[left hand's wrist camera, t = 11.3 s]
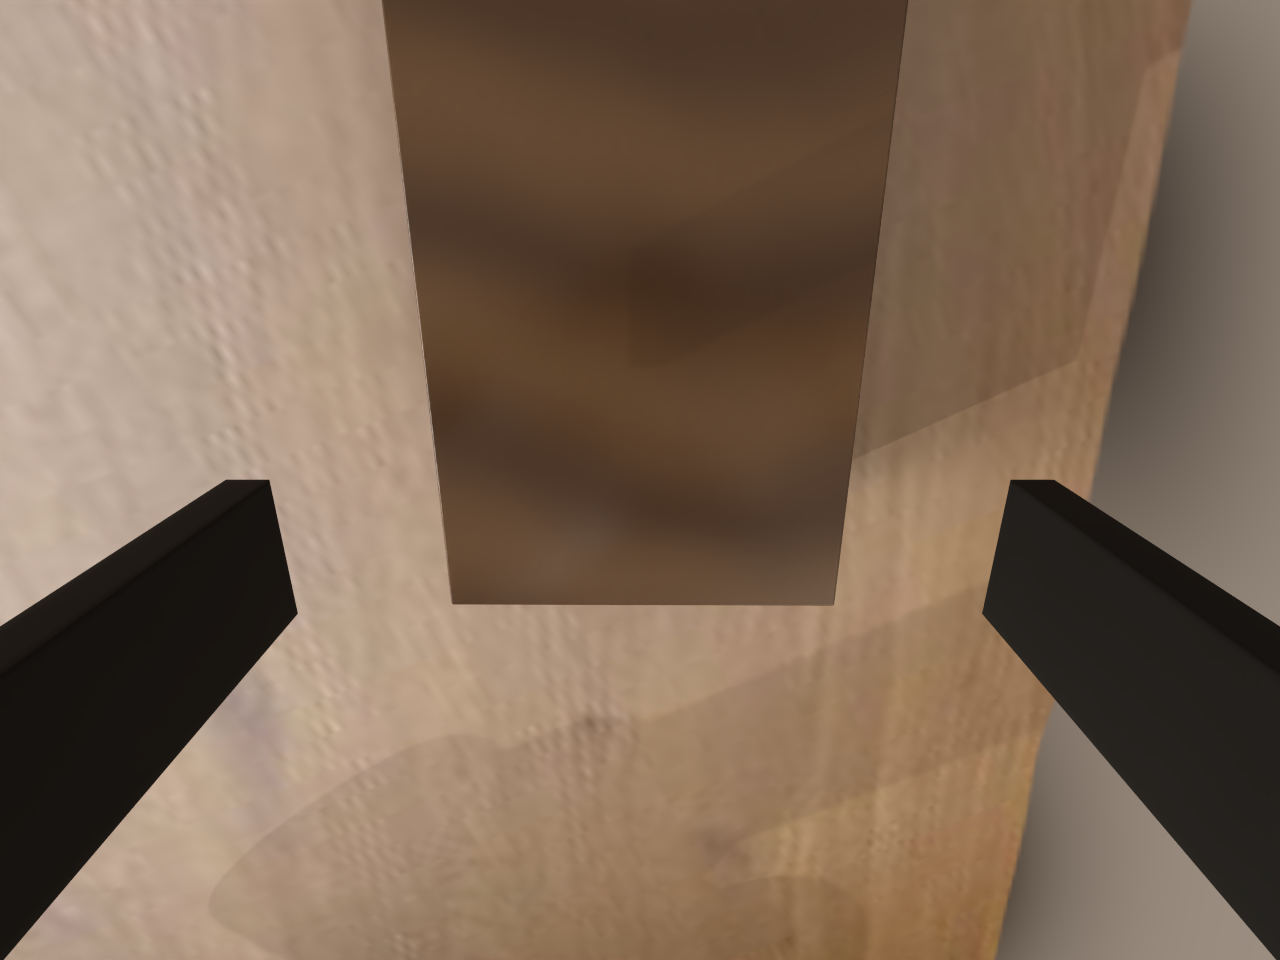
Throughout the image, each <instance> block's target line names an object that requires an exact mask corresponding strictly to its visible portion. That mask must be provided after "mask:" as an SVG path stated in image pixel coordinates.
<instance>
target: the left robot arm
mask: <svg viewBox="0 0 1280 960" xmlns="http://www.w3.org/2000/svg"><path fill="white" fill-rule="evenodd" d="M297 614H298V612H297V608H296V603H295V598H294V594H293V589H292V584H291V580H290V575H289V570H288V565H287V561H286V556H285V551H284V547H283V542H282V537H281V533H280V528H279V523H278V519H277V514H276V509H275V504H274V500H273V495H272V490H271V486H270V481H269V480H225V481H223V482H222V483H220V484H219V485H217V486H216V487H214V488H213V489H211V490H210V491H208V492H206V493H205V494H203V495H202V496H200V497H199V498H197V499H196V500H194V501H193V502H191V503H190V504H188V505H186V506H185V507H183V508H182V509H180V510H179V511H177V512H176V513H174V514H173V515H171V516H170V517H168V518H166V519H165V520H163V521H162V522H160V523H159V524H157V525H156V526H154V527H153V528H151V529H150V530H148V531H146V532H145V533H143V534H142V535H140V536H139V537H137V538H136V539H134V540H133V541H131V542H130V543H128V544H126V545H125V546H123V547H122V548H120V549H119V550H117V551H116V552H114V553H113V554H111V555H109V556H108V557H106V558H105V559H103V560H102V561H100V562H99V563H97V564H96V565H94V566H93V567H91V568H89V569H88V570H86V571H85V572H83V573H82V574H80V575H79V576H77V577H76V578H74V579H73V580H71V581H69V582H68V583H66V584H65V585H63V586H62V587H60V588H59V589H57V590H56V591H54V592H53V593H51V594H49V595H48V596H46V597H45V598H43V599H42V600H40V601H39V602H37V603H36V604H34V605H33V606H31V607H29V608H28V609H26V610H25V611H23V612H22V613H20V614H19V615H17V616H16V617H14V618H13V619H11V620H9V621H8V622H6V623H5V624H3V625H2V626H0V960H4V959H5V958H6V956H7V955H8V954H9V953H10V952H11V951H12V949H13V948H14V947H15V946H16V945H17V943H18V942H19V941H20V940H21V939H22V938H23V936H24V935H25V934H26V933H27V932H28V931H29V929H30V928H31V927H32V926H33V925H34V923H35V922H36V921H37V920H38V919H39V918H40V916H41V915H42V914H43V913H44V912H45V911H46V909H47V908H48V907H49V906H50V905H51V903H52V902H53V901H54V900H55V899H56V898H57V896H58V895H59V894H60V893H61V892H62V891H63V889H64V888H65V887H66V886H67V885H68V883H69V882H70V881H71V880H72V879H73V878H74V876H75V875H76V874H77V873H78V872H79V871H80V869H81V868H82V867H83V866H84V865H85V863H86V862H87V861H88V860H89V859H90V858H91V856H92V855H93V854H94V853H95V852H96V851H97V849H98V848H99V847H100V846H101V845H102V843H103V842H104V841H105V840H106V839H107V838H108V836H109V835H110V834H111V833H112V832H113V830H114V829H115V828H116V827H117V826H118V825H119V823H120V822H121V821H122V820H123V819H124V818H125V816H126V815H127V814H128V813H129V812H130V810H131V809H132V808H133V807H134V806H135V805H136V803H137V802H138V801H139V800H140V799H141V798H142V796H143V795H144V794H145V793H146V792H147V790H148V789H149V788H150V787H151V786H152V785H153V783H154V782H155V781H156V780H157V779H158V778H159V776H160V775H161V774H162V773H163V772H164V770H165V769H166V768H167V767H168V766H169V765H170V763H171V762H172V761H173V760H174V759H175V758H176V756H177V755H178V754H179V753H180V752H181V750H182V749H183V748H184V747H185V746H186V745H187V743H188V742H189V741H190V740H191V739H192V738H193V736H194V735H195V734H196V733H197V732H198V730H199V729H200V728H201V727H202V726H203V725H204V723H205V722H206V721H207V720H208V719H209V718H210V716H211V715H212V714H213V713H214V712H215V710H216V709H217V708H218V707H219V706H220V705H221V703H222V702H223V701H224V700H225V699H226V697H227V696H228V695H229V694H230V693H231V692H232V690H233V689H234V688H235V687H236V686H237V685H238V683H239V682H240V681H241V680H242V679H243V677H244V676H245V675H246V674H247V673H248V672H249V670H250V669H251V668H252V667H253V666H254V665H255V663H256V662H257V661H258V660H259V659H260V657H261V656H262V655H263V654H264V653H265V652H266V650H267V649H268V648H269V647H270V646H271V645H272V643H273V642H274V641H275V640H276V639H277V637H278V636H279V635H280V634H281V633H282V632H283V630H284V629H285V628H286V627H287V626H288V625H289V623H290V622H291V621H292V620H293V619H294V617H295V616H296V615H297ZM982 614H983V615H984V616H985V617H986V619H987V620H988V621H989V622H990V623H991V625H992V626H993V627H994V628H995V629H996V630H997V632H998V633H999V634H1000V635H1001V636H1002V637H1003V639H1004V640H1005V641H1006V642H1007V643H1008V645H1009V646H1010V647H1011V648H1012V649H1013V650H1014V652H1015V653H1016V654H1017V655H1018V656H1019V657H1020V659H1021V660H1022V661H1023V662H1024V663H1025V665H1026V666H1027V667H1028V668H1029V669H1030V670H1031V672H1032V673H1033V674H1034V675H1035V676H1036V677H1037V679H1038V680H1039V681H1040V682H1041V683H1042V685H1043V686H1044V687H1045V688H1046V689H1047V690H1048V692H1049V693H1050V694H1051V695H1052V696H1053V697H1054V699H1055V700H1056V701H1057V702H1058V703H1059V705H1060V706H1061V707H1062V708H1063V709H1064V710H1065V712H1066V713H1067V714H1068V715H1069V716H1070V717H1071V719H1072V720H1073V721H1074V722H1075V723H1076V725H1077V726H1078V727H1079V728H1080V729H1081V730H1082V732H1083V733H1084V734H1085V735H1086V736H1087V737H1088V739H1089V740H1090V741H1091V742H1092V743H1093V745H1094V746H1095V747H1096V748H1097V749H1098V750H1099V752H1100V753H1101V754H1102V755H1103V756H1104V758H1105V759H1106V760H1107V761H1108V762H1109V763H1110V765H1111V766H1112V767H1113V768H1114V769H1115V770H1116V772H1117V773H1118V774H1119V775H1120V776H1121V778H1122V779H1123V780H1124V781H1125V782H1126V783H1127V785H1128V786H1129V787H1130V788H1131V789H1132V790H1133V792H1134V793H1135V794H1136V795H1137V796H1138V797H1139V799H1140V800H1141V801H1142V802H1143V803H1144V805H1145V806H1146V807H1147V808H1148V809H1149V810H1150V812H1151V813H1152V814H1153V815H1154V816H1155V818H1156V819H1157V820H1158V821H1159V822H1160V823H1161V825H1162V826H1163V827H1164V828H1165V829H1166V830H1167V832H1168V833H1169V834H1170V835H1171V836H1172V838H1173V839H1174V840H1175V841H1176V842H1177V843H1178V845H1179V846H1180V847H1181V848H1182V849H1183V850H1184V852H1185V853H1186V854H1187V855H1188V856H1189V858H1190V859H1191V860H1192V861H1193V862H1194V863H1195V865H1196V866H1197V867H1198V868H1199V869H1200V871H1201V872H1202V873H1203V874H1204V875H1205V876H1206V878H1207V879H1208V880H1209V881H1210V882H1211V883H1212V885H1213V886H1214V887H1215V888H1216V889H1217V891H1218V892H1219V893H1220V894H1221V895H1222V896H1223V898H1224V899H1225V900H1226V901H1227V902H1228V903H1229V905H1230V906H1231V907H1232V908H1233V909H1234V911H1235V912H1236V913H1237V914H1238V915H1239V916H1240V918H1241V919H1242V920H1243V921H1244V922H1245V923H1246V925H1247V926H1248V927H1249V928H1250V929H1251V931H1252V932H1253V933H1254V934H1255V935H1256V936H1257V937H1258V939H1259V940H1260V941H1261V942H1262V943H1263V945H1264V946H1265V947H1266V948H1267V949H1268V951H1269V952H1270V953H1271V954H1272V955H1273V956H1274V958H1275V959H1276V960H1280V626H1278V625H1277V624H1275V623H1274V622H1272V621H1270V620H1269V619H1267V618H1266V617H1264V616H1263V615H1261V614H1260V613H1258V612H1257V611H1255V610H1254V609H1252V608H1250V607H1249V606H1247V605H1246V604H1244V603H1243V602H1241V601H1240V600H1238V599H1237V598H1235V597H1234V596H1232V595H1230V594H1229V593H1227V592H1226V591H1224V590H1223V589H1221V588H1220V587H1218V586H1217V585H1215V584H1214V583H1212V582H1211V581H1209V580H1207V579H1206V578H1204V577H1203V576H1201V575H1200V574H1198V573H1197V572H1195V571H1194V570H1192V569H1191V568H1189V567H1187V566H1186V565H1184V564H1183V563H1181V562H1180V561H1178V560H1177V559H1175V558H1174V557H1172V556H1170V555H1169V554H1167V553H1166V552H1164V551H1163V550H1161V549H1160V548H1158V547H1157V546H1155V545H1154V544H1152V543H1150V542H1149V541H1147V540H1146V539H1144V538H1143V537H1141V536H1140V535H1138V534H1137V533H1135V532H1134V531H1132V530H1130V529H1129V528H1127V527H1126V526H1124V525H1123V524H1121V523H1120V522H1118V521H1117V520H1115V519H1114V518H1112V517H1110V516H1109V515H1107V514H1106V513H1104V512H1103V511H1101V510H1100V509H1098V508H1097V507H1095V506H1094V505H1092V504H1090V503H1089V502H1087V501H1086V500H1084V499H1083V498H1081V497H1080V496H1078V495H1077V494H1075V493H1074V492H1072V491H1070V490H1069V489H1067V488H1066V487H1064V486H1063V485H1061V484H1060V483H1058V482H1057V481H1055V480H1011V481H1010V486H1009V490H1008V495H1007V500H1006V504H1005V509H1004V514H1003V519H1002V523H1001V528H1000V533H999V537H998V542H997V547H996V551H995V556H994V561H993V565H992V570H991V575H990V580H989V584H988V589H987V594H986V598H985V603H984V608H983V612H982Z"/></svg>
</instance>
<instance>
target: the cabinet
mask: <svg viewBox="0 0 1280 960" xmlns="http://www.w3.org/2000/svg"><path fill="white" fill-rule="evenodd" d="M907 5H908V0H382V7H383V15H384V24H385V33H386V41H387V50H388V58H389V67H390V76H391V84H392V93H393V101H394V110H395V119H396V127H397V136H398V144H399V153H400V162H401V170H402V179H403V187H404V196H405V205H406V213H407V222H408V231H409V239H410V248H411V256H412V265H413V274H414V282H415V291H416V299H417V308H418V317H419V325H420V334H421V342H422V351H423V360H424V368H425V377H426V385H427V394H428V403H429V411H430V420H431V428H432V437H433V446H434V454H435V463H436V472H437V480H438V489H439V497H440V506H441V515H442V523H443V532H444V540H445V549H446V558H447V566H448V575H449V583H450V592H451V601H452V604H524V605H829V606H832V605H834V600H835V592H836V584H837V576H838V568H839V559H840V551H841V543H842V535H843V527H844V519H845V511H846V502H847V494H848V486H849V478H850V470H851V462H852V453H853V445H854V437H855V429H856V421H857V413H858V405H859V396H860V388H861V380H862V372H863V364H864V356H865V348H866V339H867V331H868V323H869V315H870V307H871V299H872V291H873V282H874V274H875V266H876V258H877V250H878V242H879V234H880V225H881V217H882V209H883V201H884V193H885V185H886V176H887V168H888V160H889V152H890V144H891V136H892V128H893V119H894V111H895V103H896V95H897V87H898V79H899V71H900V62H901V54H902V46H903V38H904V30H905V22H906V14H907Z"/></svg>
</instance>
